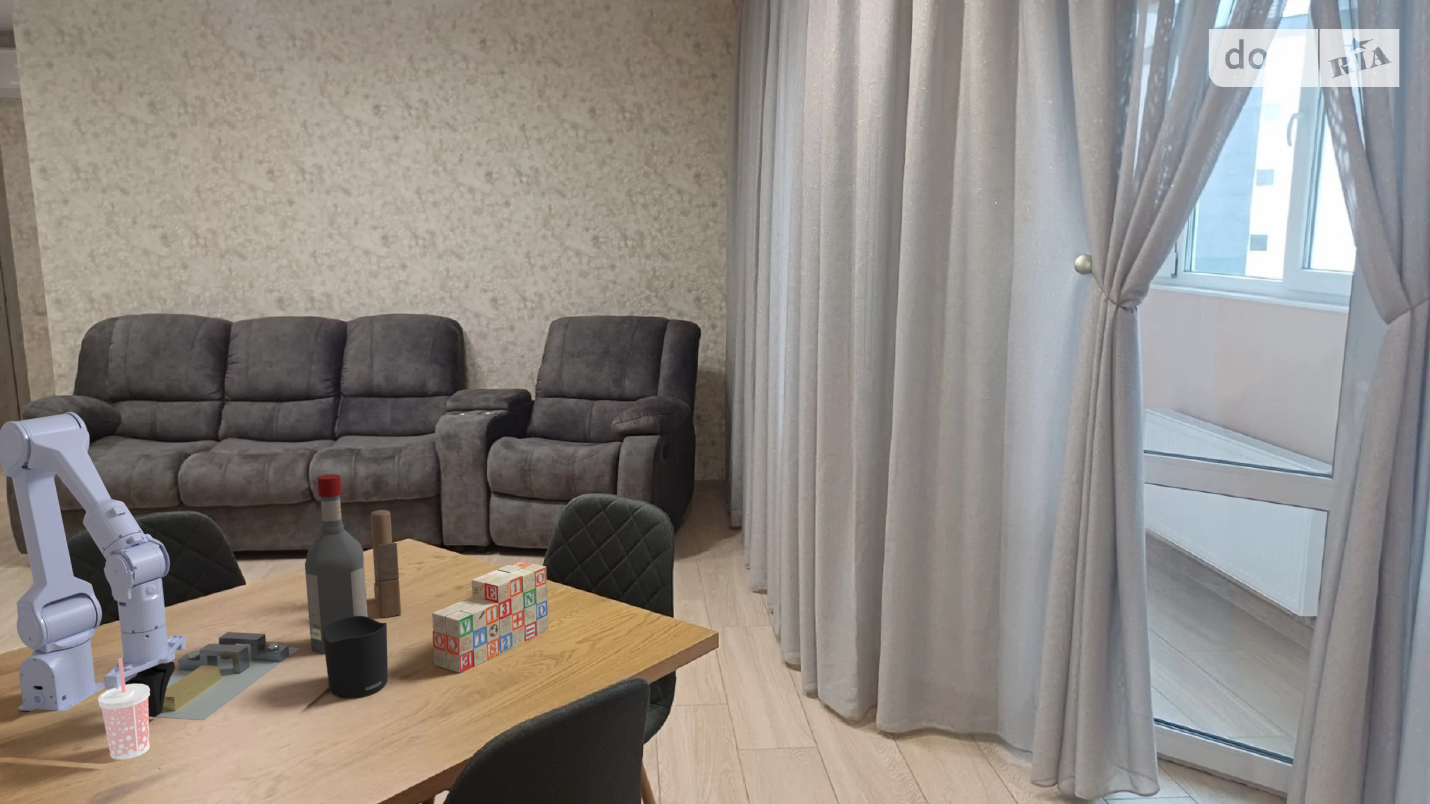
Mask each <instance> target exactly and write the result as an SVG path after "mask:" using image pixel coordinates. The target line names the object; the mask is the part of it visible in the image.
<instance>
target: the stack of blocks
mask: <svg viewBox="0 0 1430 804" xmlns="http://www.w3.org/2000/svg"><path fill="white" fill-rule="evenodd" d="M547 578H548V577H547V566H544V565H540V564H536V563H532V562H525V561H521V560H520V561H518V562H515V563H512V564H508V565H505V566H502V567H500V568H497V569H496V570H493V571H490V572H488V573H485V574H483V575H480V576H477V577H476V578H473V579H471V596H470V597H468V598H465V599H464V600H461V601H458V602H456V603H453V604H451V605H449V606H446V607H444V608H442V609H439V610H437V611H434V612H432V613H431V614H432V647H433V660H434V661H433V662H434V666H437V667H440V668H442V669H446V670H449V671H453V672H456V673H463V672H465V671H467V670H469V669H471V668H473V667H476V666H478V665H480V664H482V663H485V662H487V661H489V660H491V659H493V658H495V657H496V656H495V655H497V654H499V655H500V653H501V652H503V651H505V652H507V651H509V650H510V649H509V648H510V647H513V648H515V647H516V646H515V645H517V644H520V643H522V642H524V641H526V642H528V641H530V640H532V639H534V638H533V637H535V636H537V637H539V636H540V635H539V634H541V635H543V634H545V633H546V632H545V631H546V630H548V631H549V613H548V612H549V611H548V608H549V607H548V598H549V597H548V595H549V594H548V591H549V590H548V583H547V581H548V579H547ZM544 632H545V633H544ZM542 633H543V634H542ZM538 635H539V636H538ZM531 638H532V639H531ZM535 638H536V637H535ZM529 639H530V640H529ZM527 640H528V641H527ZM524 643H525V642H524ZM522 644H523V643H522ZM520 645H521V644H520ZM514 646H515V647H514ZM517 646H518V645H517ZM508 649H509V650H508ZM506 650H507V651H506ZM503 653H504V652H503ZM501 654H502V653H501ZM494 656H495V657H494ZM497 656H498V655H497ZM490 658H491V659H490ZM488 659H489V660H488ZM484 661H485V662H484Z"/></svg>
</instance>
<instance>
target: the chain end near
mask: <svg viewBox="0 0 1430 804" xmlns="http://www.w3.org/2000/svg"><path fill="white" fill-rule="evenodd" d="M241 645H242V644H235V645H223V644H219V643H208V644H206V645H205V646H204V647H202V648H200V649H199V651H196V650H195V651H191V652H188V653H187V654H185V655H183V656H181V657H180V658H178V659H177V664H178V665H177V666H178V670H184V671H194V670H196V669H197V668H199V667H200V666H202V665H209V666H218V660H217V656H223V657H232V661H233V673H235V674H241V673H242V672H244V671H245V670H246V669H248V668H249V667H250V666H249V655H248V646H241Z"/></svg>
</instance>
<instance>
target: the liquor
mask: <svg viewBox="0 0 1430 804" xmlns="http://www.w3.org/2000/svg"><path fill="white" fill-rule="evenodd" d="M341 478H342V477H341V475H340V474H333V473H332V474H323V475H319V476H318V477H317V492H318V494H317V496H319V497H320V506H321V507H320V508H321V519H322V520H321V525H322V526H321V530H320V533H319V535H318V536H317V537H316V538H315V540H314V541H313V542H312V544H311V545H310V546H309V548H308V551H307V555H306V559H305V561H304V570H305V572H304V573H305V583H306V586H305V587H306V597H307V598H306V599H307V608H308V609H307V611H308V623H309V624H308V625H309V637H310V649H311V651H312V652H316V653H319V654H324V655H325V648H324V640H323V629H324V627H325V626H326V625H328V624H329V623H331V622H333V621H336V620H339V619H342V618H347V617H352V616H366V617H369V616H368V603H367V585H366V573H365V558H364V548H363V546H362V545H361V542H359V541H358V539H356V538H354V536H352V535H351V534H350V533H349V532H348V531H347V530H345V526H344V522H343V521H342V520H343V518H342V508H341V505H342V504H341V495H342V494H343V492H342V481H341Z"/></svg>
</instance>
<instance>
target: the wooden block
mask: <svg viewBox="0 0 1430 804" xmlns="http://www.w3.org/2000/svg"><path fill="white" fill-rule="evenodd" d="M370 523H371V525H370V526H371V538H372V539H371V541H372V557H373V571H374V572H373V573H374V583H373V589H374V591H373V592H374V600H375V603H376V606H377V608H378V611H379V614H380V617H381V618H382V617H385V618H391V617H390V616H392V617H397V616H396V615H398V616H401V615H402V606H401V603H402V602H401V589H400V588H401V587H400V579H399V578H400V575H399V574H400V572H399V559H398V558H399V557H398V555H399V554H398V542H393V537H392V536H393V535H392V519H391V511H389V510H387V509H379V510H375V511H372V512H371V513H370Z"/></svg>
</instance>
